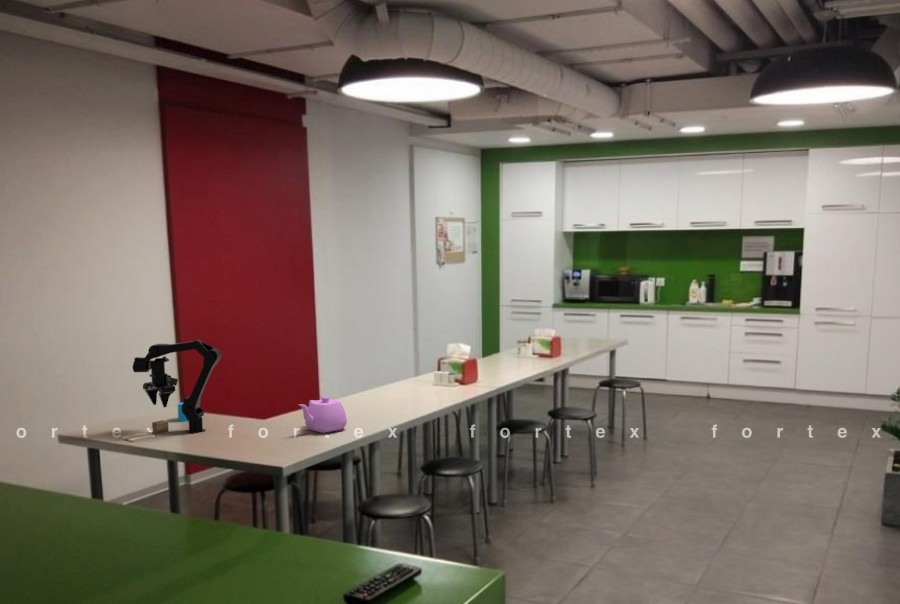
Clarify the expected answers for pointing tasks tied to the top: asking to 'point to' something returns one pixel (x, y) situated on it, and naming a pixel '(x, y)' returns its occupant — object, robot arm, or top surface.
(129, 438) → the birch coaster
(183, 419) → the mug
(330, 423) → the teapot
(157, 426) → the walnut cube
